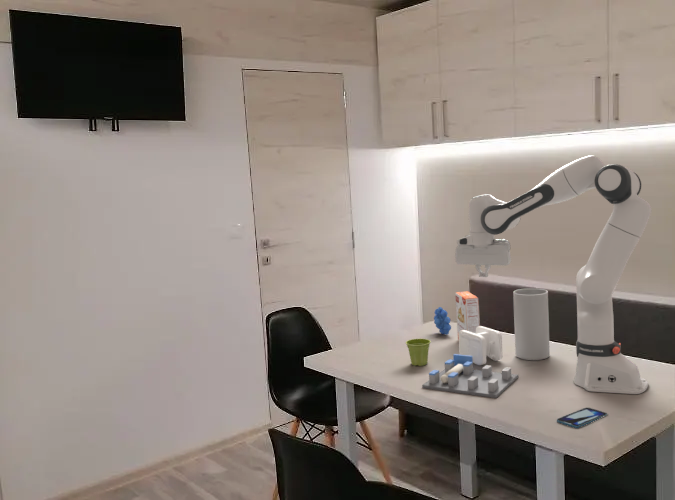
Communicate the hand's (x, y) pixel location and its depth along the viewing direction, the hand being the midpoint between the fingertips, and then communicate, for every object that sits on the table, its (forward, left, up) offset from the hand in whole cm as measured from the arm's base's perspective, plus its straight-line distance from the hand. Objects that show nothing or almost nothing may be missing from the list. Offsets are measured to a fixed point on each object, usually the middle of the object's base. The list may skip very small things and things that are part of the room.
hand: (483, 276), depth 243 cm
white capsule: (+4, +21, -31) cm, 37 cm away
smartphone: (-43, +38, -34) cm, 67 cm away
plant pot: (+24, +8, -33) cm, 42 cm away
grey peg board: (-2, +21, -33) cm, 39 cm away
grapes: (+34, -34, -33) cm, 58 cm away
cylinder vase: (-12, -16, -33) cm, 39 cm away
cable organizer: (+4, -4, -33) cm, 34 cm away
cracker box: (+17, -24, -33) cm, 44 cm away
